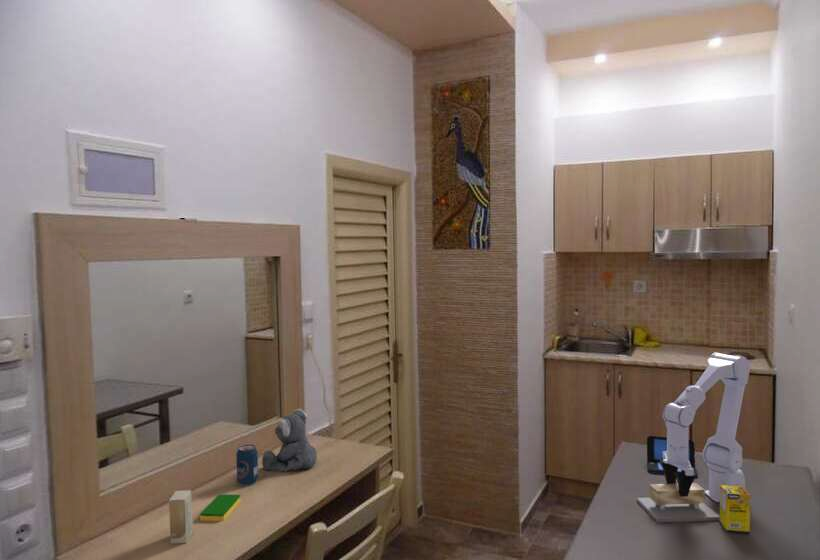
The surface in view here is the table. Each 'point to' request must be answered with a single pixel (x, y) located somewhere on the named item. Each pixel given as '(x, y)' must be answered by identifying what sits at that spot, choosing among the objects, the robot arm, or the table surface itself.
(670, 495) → the shelf board
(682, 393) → the robot arm
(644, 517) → the table surface
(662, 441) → the handheld game console
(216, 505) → the dish sponge
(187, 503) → the skincare box
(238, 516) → the table surface
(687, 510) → the peg stand
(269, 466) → the koala plush
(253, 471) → the soda can
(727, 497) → the supplement box
